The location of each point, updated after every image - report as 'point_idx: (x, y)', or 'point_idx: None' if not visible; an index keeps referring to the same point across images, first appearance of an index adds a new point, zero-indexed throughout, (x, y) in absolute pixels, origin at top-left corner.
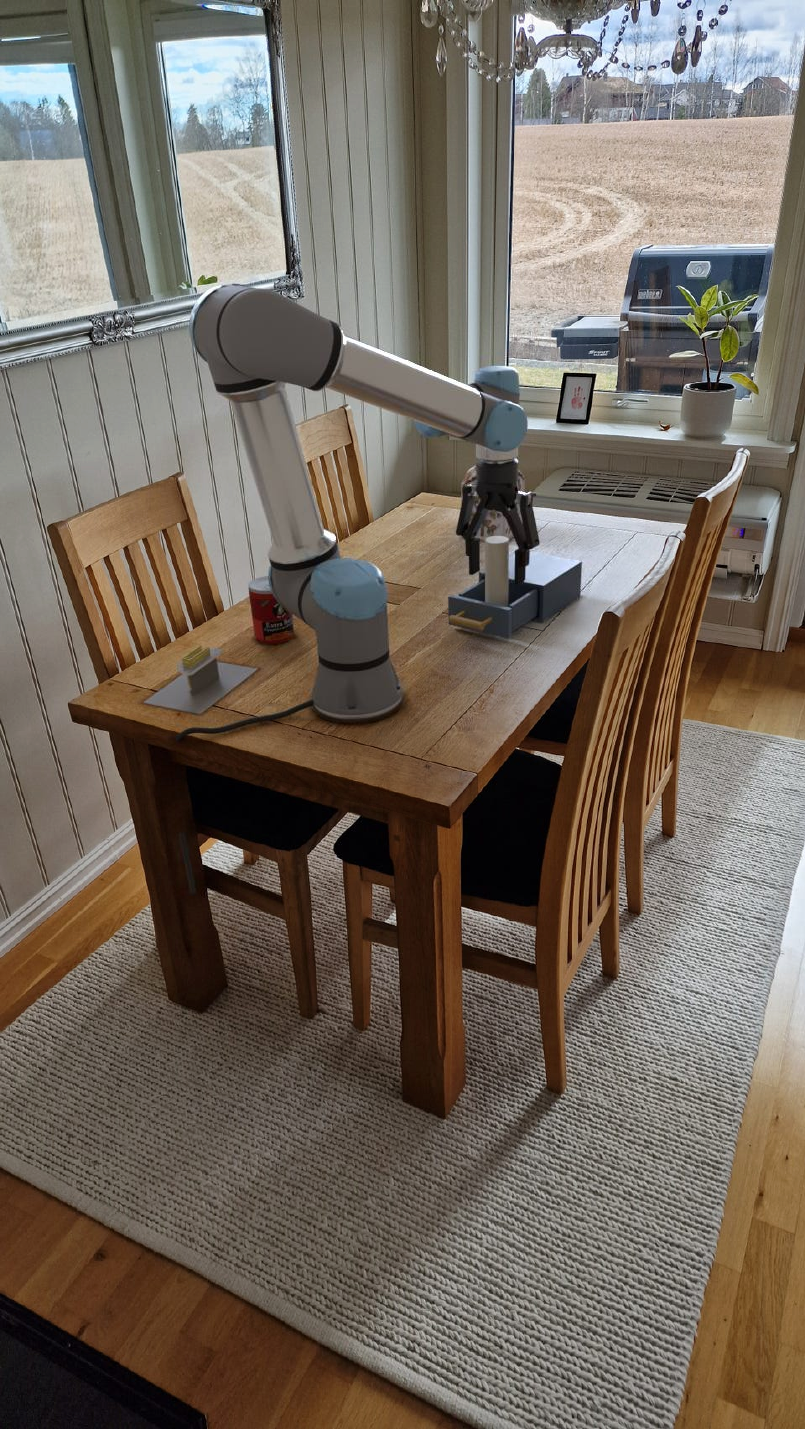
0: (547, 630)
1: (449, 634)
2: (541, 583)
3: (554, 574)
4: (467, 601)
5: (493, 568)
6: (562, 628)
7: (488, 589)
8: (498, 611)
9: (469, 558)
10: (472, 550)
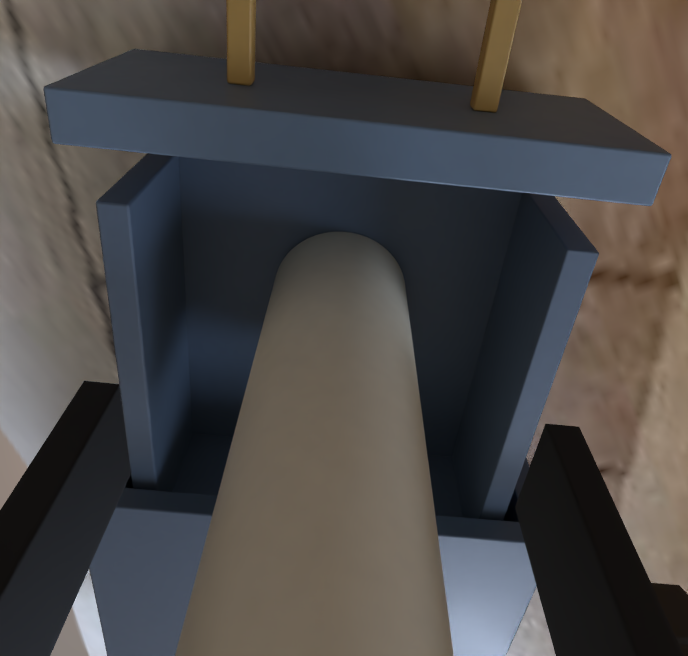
0: (79, 294)
1: (545, 11)
2: (109, 526)
3: (133, 628)
4: (468, 129)
5: (301, 462)
6: (38, 339)
7: (361, 330)
8: (156, 90)
9: (627, 551)
10: (626, 646)
